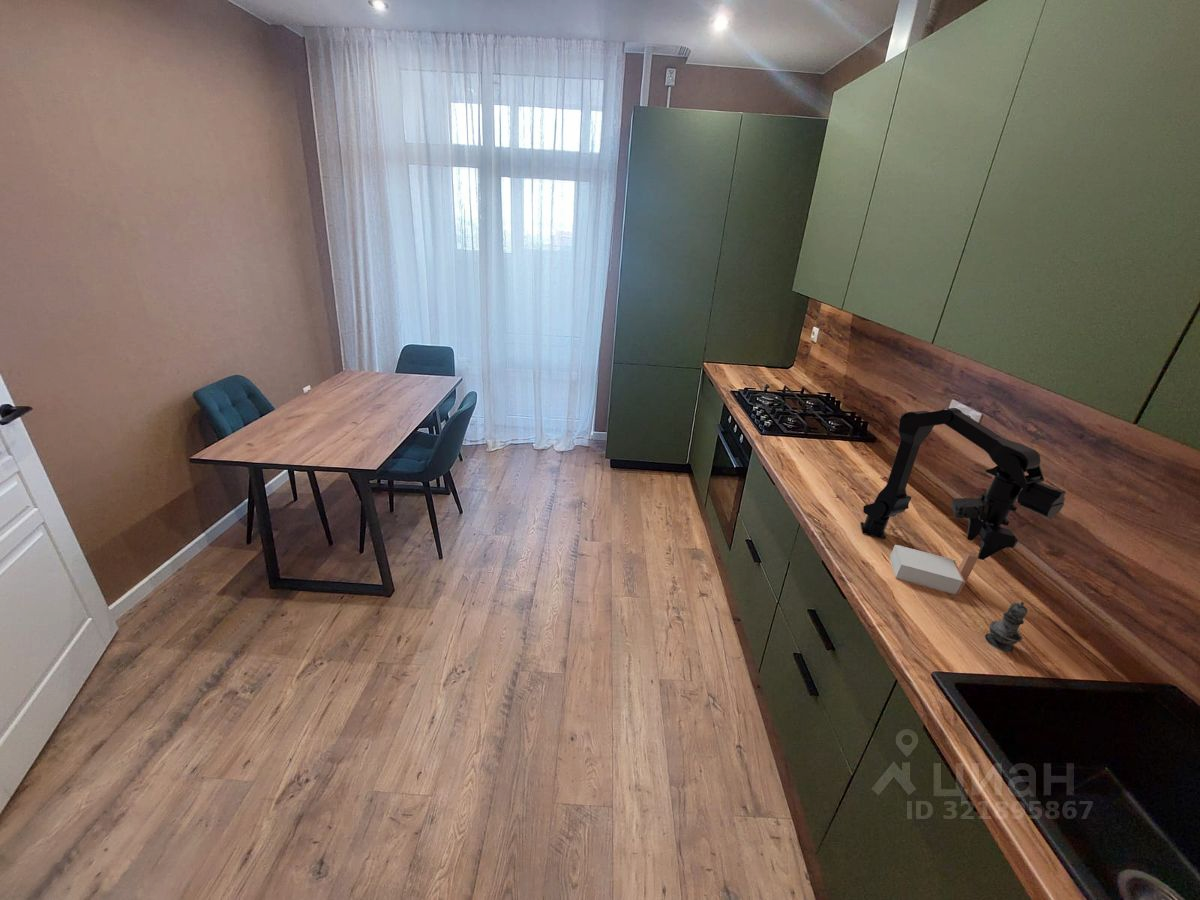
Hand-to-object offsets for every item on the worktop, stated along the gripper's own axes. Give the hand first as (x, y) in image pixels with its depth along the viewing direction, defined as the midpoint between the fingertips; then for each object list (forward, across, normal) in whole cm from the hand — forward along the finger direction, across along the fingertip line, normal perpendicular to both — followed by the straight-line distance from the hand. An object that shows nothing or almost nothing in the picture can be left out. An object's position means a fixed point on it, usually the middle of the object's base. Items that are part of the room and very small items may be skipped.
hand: (974, 549), depth 122 cm
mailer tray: (+11, 0, -7) cm, 13 cm away
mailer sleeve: (+12, 0, -8) cm, 14 cm away
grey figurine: (+12, +20, +4) cm, 23 cm away
